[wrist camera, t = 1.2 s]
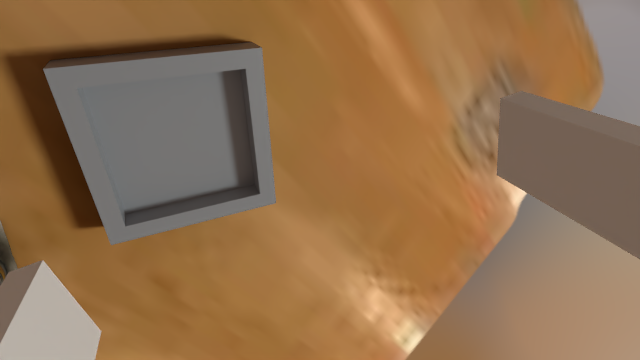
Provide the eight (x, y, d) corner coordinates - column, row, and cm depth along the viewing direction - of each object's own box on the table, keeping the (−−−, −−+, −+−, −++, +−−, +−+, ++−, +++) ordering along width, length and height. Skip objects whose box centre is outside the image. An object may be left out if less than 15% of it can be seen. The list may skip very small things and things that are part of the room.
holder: (50, 60, 27) (42, 69, 24) (251, 41, 32) (261, 47, 30) (112, 226, 34) (111, 245, 32) (267, 189, 39) (276, 202, 37)
